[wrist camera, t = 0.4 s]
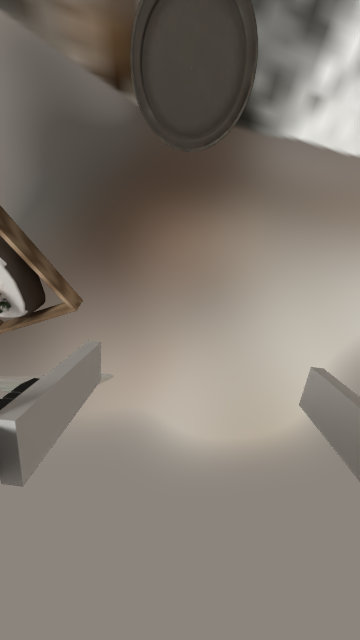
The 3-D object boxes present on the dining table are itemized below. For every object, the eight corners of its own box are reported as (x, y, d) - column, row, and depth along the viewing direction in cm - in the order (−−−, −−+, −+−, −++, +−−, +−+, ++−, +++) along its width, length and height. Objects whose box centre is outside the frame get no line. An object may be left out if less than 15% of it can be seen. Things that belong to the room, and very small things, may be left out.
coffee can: (147, 128, 30) (124, 130, 20) (161, 6, 23) (138, -90, 13) (213, 153, 31) (225, 166, 21) (246, 45, 24) (287, -11, 14)
